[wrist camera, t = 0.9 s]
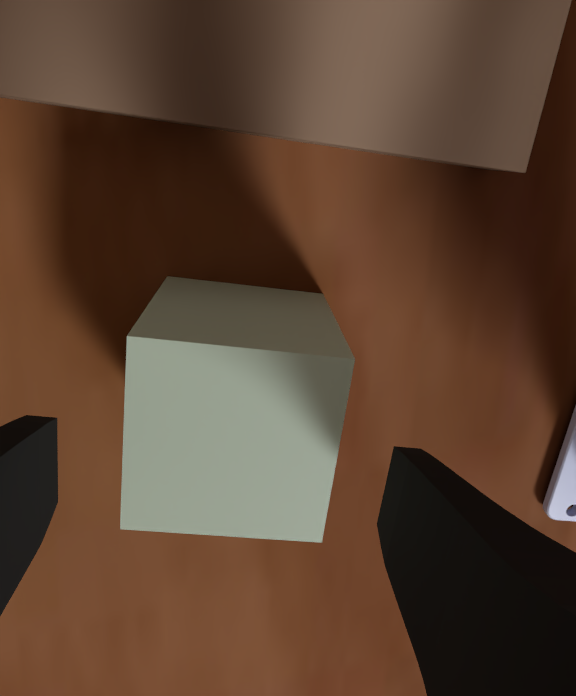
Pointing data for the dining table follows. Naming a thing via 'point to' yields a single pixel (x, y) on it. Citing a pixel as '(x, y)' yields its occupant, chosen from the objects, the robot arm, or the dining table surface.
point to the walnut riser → (301, 69)
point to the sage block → (233, 411)
